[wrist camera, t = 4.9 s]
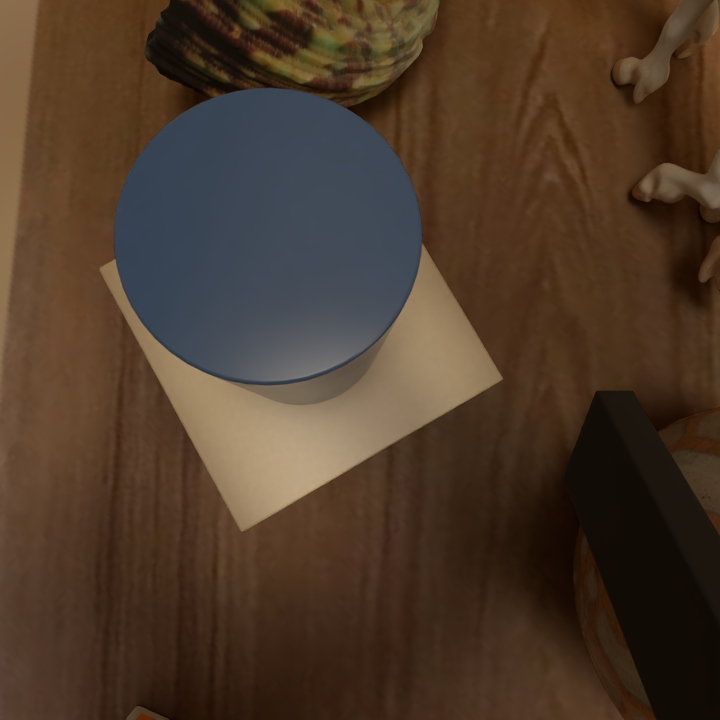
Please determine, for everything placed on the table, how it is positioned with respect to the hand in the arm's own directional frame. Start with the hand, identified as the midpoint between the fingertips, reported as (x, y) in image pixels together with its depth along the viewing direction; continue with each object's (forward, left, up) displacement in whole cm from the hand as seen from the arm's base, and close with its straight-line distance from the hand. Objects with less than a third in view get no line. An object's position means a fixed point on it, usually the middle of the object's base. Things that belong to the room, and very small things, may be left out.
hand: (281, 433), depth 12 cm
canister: (+2, +3, -8) cm, 9 cm away
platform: (+2, +3, -12) cm, 13 cm away
